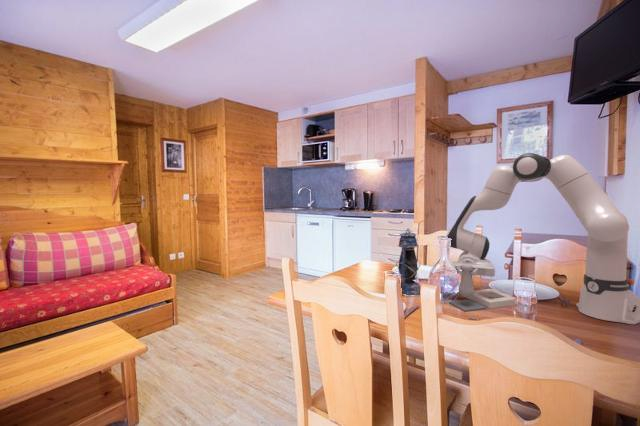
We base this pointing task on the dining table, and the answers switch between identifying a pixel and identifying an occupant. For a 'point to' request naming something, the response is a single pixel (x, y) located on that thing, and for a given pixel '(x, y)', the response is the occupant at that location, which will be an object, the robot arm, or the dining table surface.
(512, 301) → the socket block
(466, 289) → the salt shaker
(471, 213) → the robot arm
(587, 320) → the dining table surface
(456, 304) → the rubber pad
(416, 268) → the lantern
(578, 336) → the dining table surface
